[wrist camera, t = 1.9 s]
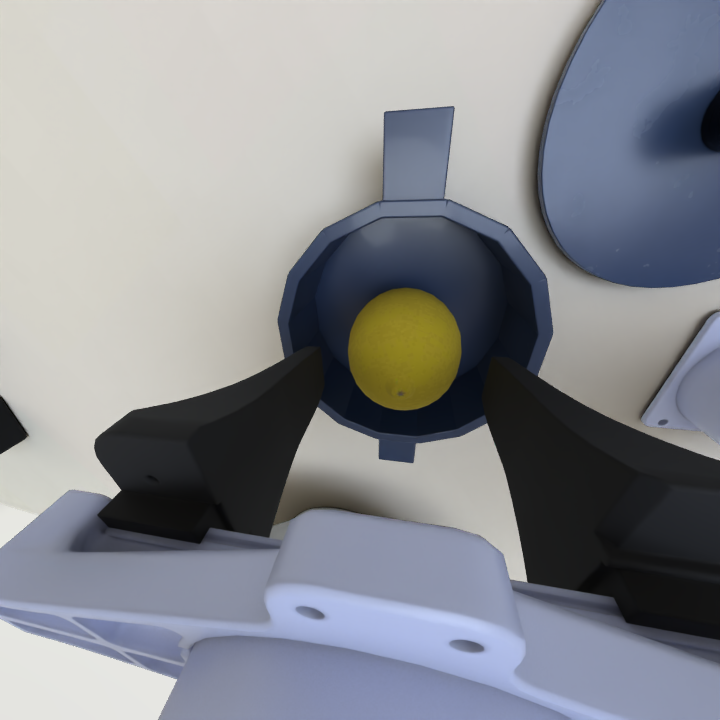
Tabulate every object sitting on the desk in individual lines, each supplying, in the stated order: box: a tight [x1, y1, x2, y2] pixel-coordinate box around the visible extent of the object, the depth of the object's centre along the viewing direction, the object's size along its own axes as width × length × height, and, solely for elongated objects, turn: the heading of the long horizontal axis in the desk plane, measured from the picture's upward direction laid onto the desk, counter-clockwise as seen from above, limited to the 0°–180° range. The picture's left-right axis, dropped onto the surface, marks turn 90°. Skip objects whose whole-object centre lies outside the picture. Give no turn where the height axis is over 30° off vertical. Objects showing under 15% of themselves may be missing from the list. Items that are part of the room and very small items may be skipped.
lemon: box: [348, 288, 461, 410], centre depth 14 cm, size 6×6×8 cm
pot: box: [278, 106, 553, 463], centre depth 15 cm, size 13×18×5 cm
